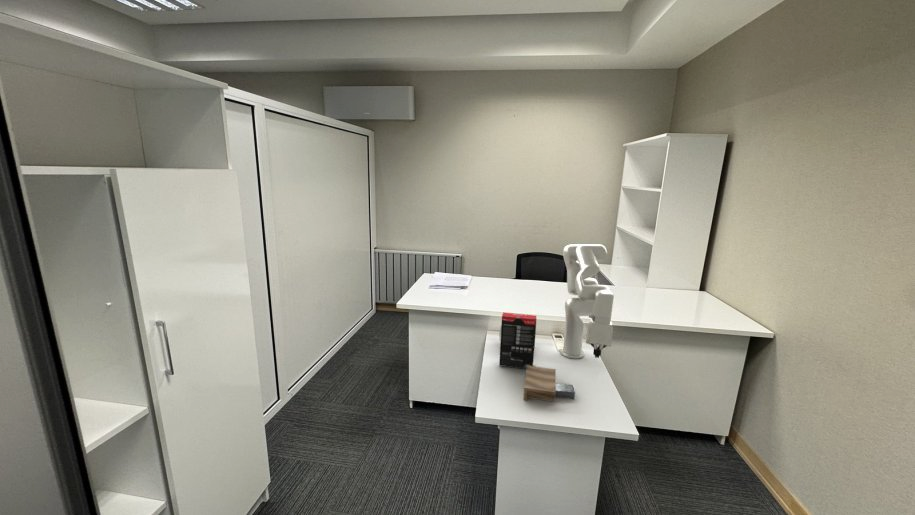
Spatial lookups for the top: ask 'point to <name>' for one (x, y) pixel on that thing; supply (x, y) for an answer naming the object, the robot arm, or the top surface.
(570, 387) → the slab
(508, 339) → the graphics card box
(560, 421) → the top surface
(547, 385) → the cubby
